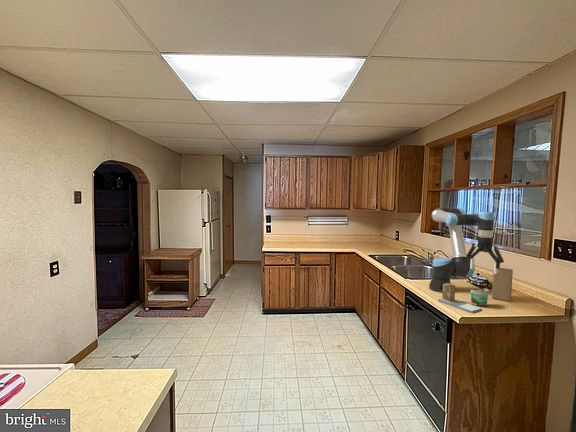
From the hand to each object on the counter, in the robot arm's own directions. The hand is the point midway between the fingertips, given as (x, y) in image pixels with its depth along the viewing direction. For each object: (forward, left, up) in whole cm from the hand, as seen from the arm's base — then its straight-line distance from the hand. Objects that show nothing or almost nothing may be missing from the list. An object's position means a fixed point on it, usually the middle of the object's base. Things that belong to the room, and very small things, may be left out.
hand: (483, 271), depth 172 cm
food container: (0, 0, -22) cm, 22 cm away
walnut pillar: (-14, -12, -21) cm, 28 cm away
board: (-7, -12, -22) cm, 26 cm away
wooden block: (-2, +27, -22) cm, 35 cm away
